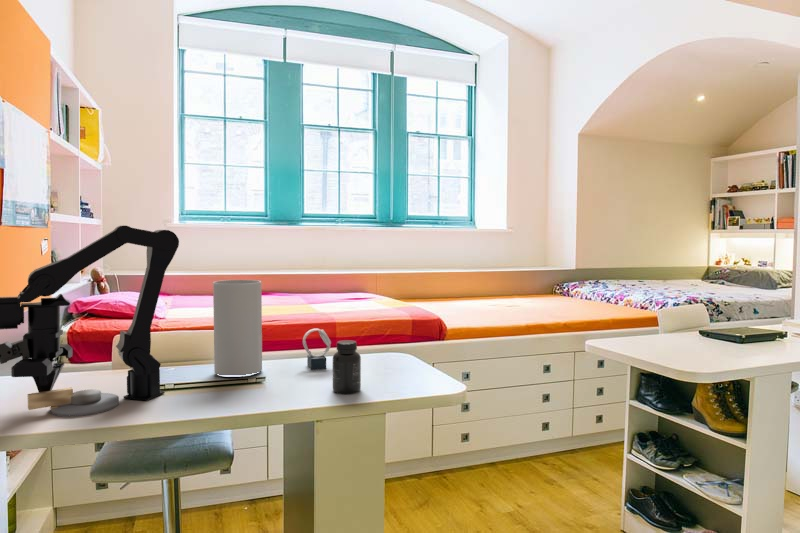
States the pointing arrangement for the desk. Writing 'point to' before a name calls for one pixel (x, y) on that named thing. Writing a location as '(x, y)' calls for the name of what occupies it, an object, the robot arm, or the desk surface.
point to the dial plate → (87, 407)
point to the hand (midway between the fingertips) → (44, 399)
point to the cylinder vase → (237, 327)
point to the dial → (62, 398)
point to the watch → (317, 359)
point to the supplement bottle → (346, 368)
